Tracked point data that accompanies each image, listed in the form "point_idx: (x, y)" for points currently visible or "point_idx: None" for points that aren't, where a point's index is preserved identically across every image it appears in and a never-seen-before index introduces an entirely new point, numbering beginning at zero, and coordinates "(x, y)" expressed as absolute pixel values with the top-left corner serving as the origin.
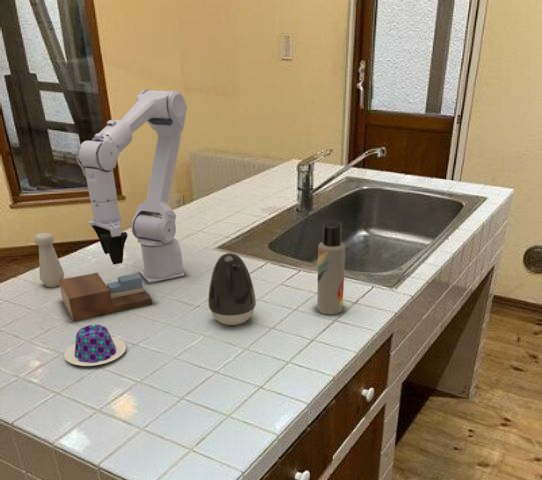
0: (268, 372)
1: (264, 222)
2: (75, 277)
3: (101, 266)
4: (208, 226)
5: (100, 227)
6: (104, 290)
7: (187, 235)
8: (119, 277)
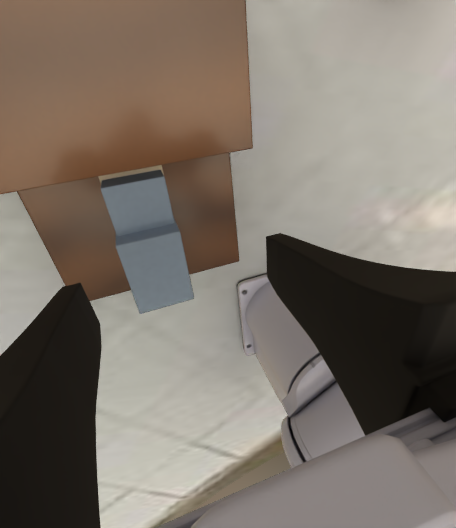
0: None
1: None
2: (234, 10)
3: (427, 155)
4: None
5: (393, 353)
6: None
7: None
8: (168, 239)
